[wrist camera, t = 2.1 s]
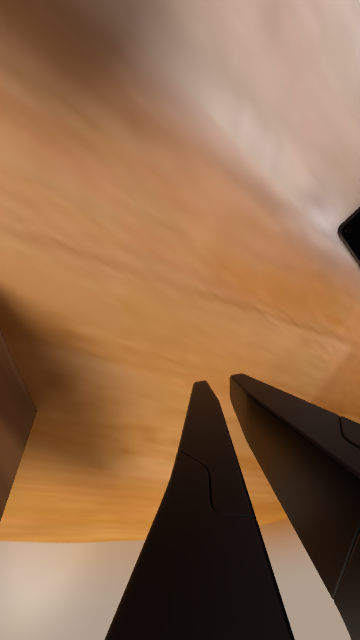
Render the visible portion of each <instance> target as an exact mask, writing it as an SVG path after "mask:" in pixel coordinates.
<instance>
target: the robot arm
mask: <svg viewBox="0 0 360 640" xmlns="http://www.w3.org/2000/svg"><path fill="white" fill-rule="evenodd" d="M347 227H348V230H347V232H345V229H346V228H347ZM338 234H339V236H340V237H341V239H342V240H343V242H344V243H345V245H346V246H347V248H348V249H349V251H350V252H351V253H352V255H353V256H354V258H355V259H356V261H357V262H358V264H359V265H360V207H359V208H358V209H357V210H356V211H355V212H354V213H353V214H352V215H351V216H350V217H348V218H347V219H346V220H345V221H344V222H343V223H342V224H341V225H340V226H339V228H338ZM230 398H231V402H232V405H233V408H234V410H235V413H236V415H237V418H238V421H239V423H240V426H241V428H242V431H243V433H244V436H245V438H246V441H247V442H248V444H249V446H250V448H251V450H252V452H253V454H254V456H255V457H256V459H257V461H258V463H259V465H260V467H261V469H262V470H263V472H264V474H265V476H266V478H267V480H268V481H269V483H270V485H271V487H272V489H273V491H274V492H275V494H276V496H277V498H278V500H279V502H280V503H281V505H282V507H283V509H284V511H285V513H286V514H287V516H288V518H289V520H290V522H291V524H292V525H293V527H294V529H295V531H296V533H297V534H298V537H299V538H300V540H301V542H302V544H303V546H304V548H305V549H306V551H307V553H308V555H309V556H310V559H311V560H312V562H313V564H314V566H315V568H316V570H317V571H318V573H319V575H320V577H321V579H322V581H323V582H324V584H325V586H326V588H327V590H328V592H329V593H330V595H331V597H332V599H334V603H335V605H336V606H337V608H338V610H339V612H340V614H341V616H342V619H343V621H344V623H345V625H346V627H347V630H348V632H349V635H350V637H351V640H360V424H359V423H356V422H354V421H352V420H349V419H347V418H345V417H343V416H341V417H340V416H339V415H337V414H335V413H332V412H330V411H328V410H325V409H323V408H321V407H318V406H316V405H314V404H312V403H309V402H307V401H305V400H302V399H300V398H298V397H295V396H293V395H291V394H289V393H286V392H284V391H282V390H279V389H277V388H275V387H273V386H270V385H268V384H266V383H263V382H261V381H259V380H256V379H254V378H252V377H250V376H247V375H245V374H242V373H240V374H235V375H231V376H230ZM105 640H295V639H294V636H293V633H292V630H291V627H290V623H289V620H288V617H287V614H286V611H285V608H284V605H283V602H282V598H281V595H280V592H279V589H278V585H277V583H276V579H275V576H274V573H273V570H272V567H271V563H270V560H269V557H268V554H267V551H266V548H265V544H264V541H263V538H262V535H261V532H260V528H259V525H258V522H257V520H256V516H255V513H254V510H253V507H252V504H251V500H250V497H249V494H248V491H247V488H246V485H245V481H244V478H243V475H242V472H241V469H240V466H239V463H238V459H237V456H236V453H235V450H234V447H233V444H232V440H231V437H230V434H229V431H228V428H227V425H226V421H225V418H224V415H223V412H222V409H221V406H220V403H219V400H218V398H217V397H216V395H215V394H214V392H213V390H212V389H211V387H210V386H209V384H208V383H207V381H199V382H195V383H194V384H193V388H192V393H191V397H190V401H189V405H188V410H187V414H186V418H185V422H184V427H183V431H182V435H181V439H180V443H179V448H178V452H177V455H176V459H175V463H174V467H173V470H172V474H171V477H170V480H169V483H168V486H167V488H166V491H165V494H164V497H163V499H162V501H161V504H160V506H159V509H158V511H157V514H156V516H155V518H154V521H153V523H152V526H151V528H150V531H149V533H148V535H147V538H146V540H145V543H144V545H143V548H142V550H141V552H140V555H139V557H138V560H137V562H136V565H135V567H134V569H133V572H132V574H131V577H130V579H129V582H128V584H127V587H126V589H125V591H124V594H123V596H122V599H121V601H120V604H119V606H118V608H117V611H116V614H115V616H114V618H113V621H112V623H111V625H110V628H109V630H108V633H107V635H106V637H105Z"/></svg>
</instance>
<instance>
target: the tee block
mask: <svg viewBox="0 0 360 640" xmlns="http://www.w3.org/2000/svg"><path fill="white" fill-rule="evenodd" d="M36 412H37V411H36V409H35V406H34V404H33V402H32V400H31V398H30V395H29V393H28V391H27V389H26V386H25V384H24V382H23V380H22V377H21V375H20V373H19V371H18V369H17V366H16V364H15V362H14V360H13V357H12V355H11V353H10V351H9V349H8V346H7V344H6V342H5V340H4V337H3V335H2V333H1V331H0V521H1V518H2V515H3V512H4V509H5V506H6V503H7V500H8V497H9V494H10V491H11V488H12V485H13V482H14V479H15V476H16V473H17V470H18V467H19V464H20V461H21V458H22V455H23V452H24V449H25V446H26V442H27V439H28V436H29V433H30V430H31V427H32V424H33V421H34V418H35V415H36Z"/></svg>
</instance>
